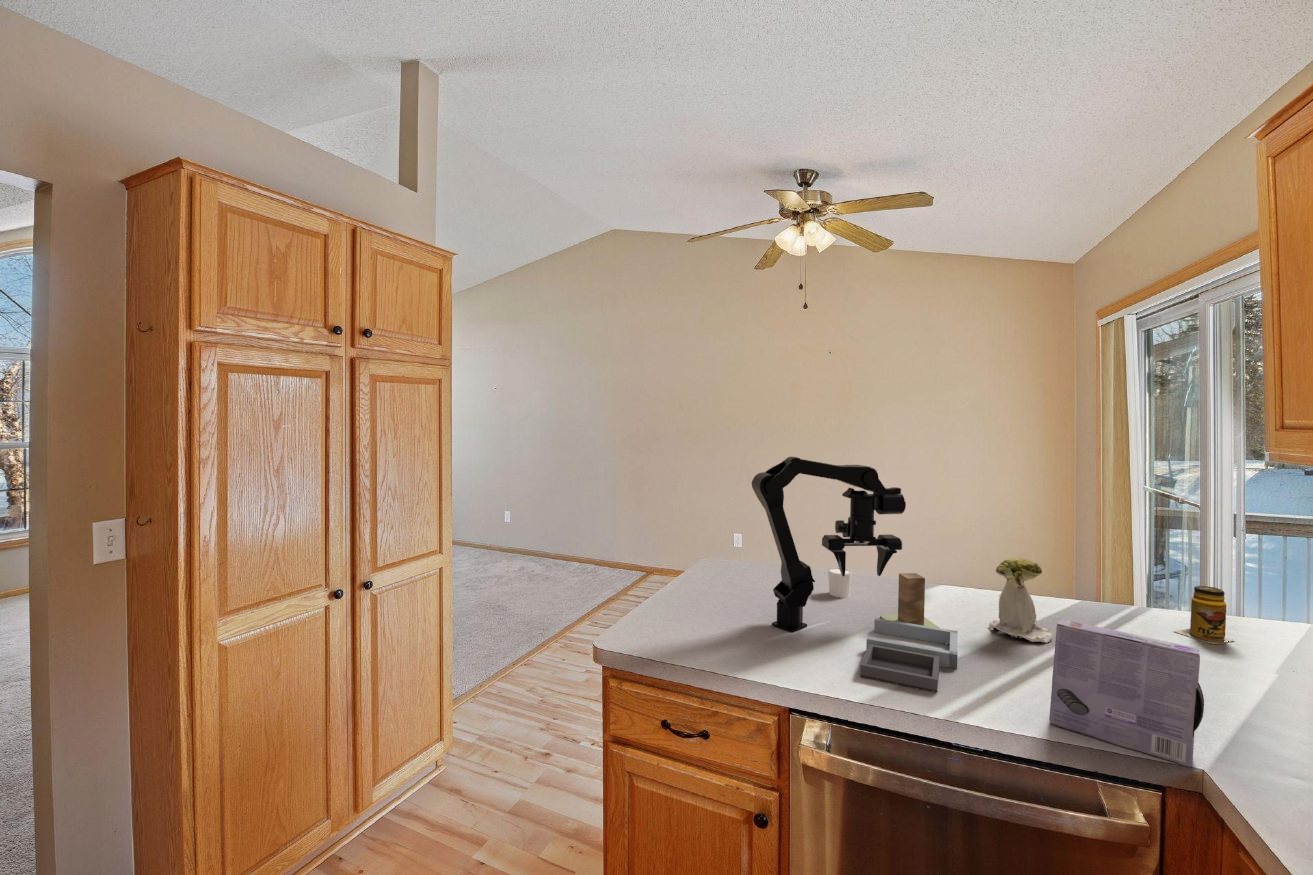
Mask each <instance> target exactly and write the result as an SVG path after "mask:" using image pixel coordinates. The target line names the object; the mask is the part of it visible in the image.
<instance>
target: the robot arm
mask: <svg viewBox="0 0 1313 875" xmlns="http://www.w3.org/2000/svg"><path fill="white" fill-rule="evenodd" d="M799 474H801V475H807V476H812V477H818V478H824V479H831V480H834V481H835V480H836V481H839V482H841V483H844V484H846V485H849V486H852V487H848V488H847V489H846V490H845V491H844V492H843V493H842V494H841V495H842V497H844V498H848V499H850V502H849V505H850V510H849V511H850V512H849V516H848V518H847V522H845V520H843V519H842V520H841V519H840V520H835V522H834V524H835V525H834V530H835V533H836V534H824V535H823V536H822V539H821V546H822V547H824V548H825V549H826V550H827V551H830V552H831V553H832V554H833V555H834V558H835V560H836V562H837V565H838V569H840V572H841V575H842V576H845V569H846V566H847V565H846V564H847V563H846V561H847V560H846V559H847V556H846V555H847V553H846V551H845V550H844V548H846V547H871V546H872V547H874V546H875V547H876V549H877V550H876V552H877V562H876V574H877V575H876V576H878V577H880V576H882V574H883V572H884V570H885V568H886V566H887V564H888V562H889V561H890V559H892V556H893V555H894V554H897V553H898V551H902V550H903V542H902V541H903V540H902V539H901V538H900V537H898V536H896V535H893V534H878V536H877V538H876V536H875V534H874V533H875V526H876V525H877V521H876V520H875V512H876V514H877V515H881V516H882V515H902V514H904V512H905V510H906V508H907V507H906V506H907V504H906V501H905V497H904V494H903V493H902V489H901V487H895V486H894V487H893V486H892V487H885V486H884V485H883V482H882V481H881V480H880V479H879V474H878V472H877V469H876V468H874V467H872V466H869V465H868V466H867V465H861V464H843V465H841V464H840V465H836V464H831V463H826V462H820V461H813V460H808V459H803V458H800V457H797V456H788V457H786V458H785V459H784V460H783V461H781V462H780V463H778V464H776V465H774V466H772V467H770V468H769V469H767V470H766V471H763V472H762V471H761V472H759V473H756V474H755V475H754V476H753V478H752V480H751V488H752V490H753V492H754V494H755V496H756V497H757V500H758V501H759V503H760V504H761V505H762V507H763V508H764V511H765V513H766V517H767V519H768V523H769V527H770V528H771V533H772V535H773V538H774V542H775V545H776V548H777V552H778V556H779V557H780V558H779V559H780V561H781V562H780V563H781V567H780V577H781V580H780V581H779V583H777V584H776V586H774V587H773V589H772V592H773V595H774V597H775V598H777V599H778V600H777V602H776V620H775V621H773V622H771V626H774V627H777V628H779V629H782V630H785V631H788V632H791V633H792V632H797V631H798V630H801V629H803V628H807V627H808V623H806V622H803V620H804V618H803V614H804V607H806V606H807V602H808V599H809V597H810V596H811V594H812V593H813V591H814V590H815V586H814V583H815V582H816V580H815V579H814V578H813V574H812V569H811V566H810V565H808V564H807V563H805V562H803V561H802V560H800V558H799V555H798V551H797V547H796V544H795V541H794V538H793V534H792V532H791V529H790V528H791V527H790V525H789V522H788V518H787V515H786V513H785V509H784V503H785V502H784V501H785V495H784V494H785V493H784V488H786V487H787V486H788V485H790V483H791V482H792V481H793V480H794V479H795V478H796V476H798V475H799ZM853 487H854V488H853ZM855 487H856V488H859V489H862V490H855ZM868 492H872V493H868ZM838 534H842V536H840V535H838Z"/></svg>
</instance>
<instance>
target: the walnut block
mask: <svg viewBox="0 0 1313 875" xmlns="http://www.w3.org/2000/svg"><path fill="white" fill-rule="evenodd" d="M925 588H926V577H923V576H922V575H921V574H919V573H917V572H911V573H910V572H908V573H907V572H906V573H905V572H901V573H898V593H897V595H898V598H897V599H898V600H897V601H898V602H897V603H898V604H897V615H898V620H899V621H900V622H904V623H911V624H917V625H923V626H924V617H925V603H926V602H925V596H926V594H925V593H926V592H925V591H926V589H925Z"/></svg>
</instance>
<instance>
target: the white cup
mask: <svg viewBox="0 0 1313 875" xmlns="http://www.w3.org/2000/svg"><path fill="white" fill-rule="evenodd" d="M852 576H853V572H852V571H851V570H849V569H846V568H845V576H842V575H841V572H840V569H839V568H836V567H835V568H829V569H828V570H827V579H828V591H829V592H828V593H830V594H829V595H830V596H831V595H833V596H832V597H834V596H835V598H839V597H840V598H841V599H843V598H844V599H845V598H849V597H850V593H851V586H852Z"/></svg>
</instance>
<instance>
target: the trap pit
mask: <svg viewBox="0 0 1313 875" xmlns="http://www.w3.org/2000/svg"><path fill="white" fill-rule="evenodd" d="M861 660H862V661H861V663H860V674H859V676H860V678H864V679H867V680H868V679H869V680H873V681H878V682H884V683H888V684H892V685H897V684H898V686H902V687H908V688H913V689H916V688H918V690H923V691H928V692H931V691H934V692H933V693H936V692H937V693H938V690H937V689H939V688H938V687H939V675H940V674H939V673H940V666H939V656H934V655H928V654H922V653H917V652H911V651H906V650H900V649H894V648H889V647H883V646H878V645H872V644H869V645H868V647H867V650H866V649H865V653H864V655H863V658H862V659H861Z"/></svg>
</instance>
